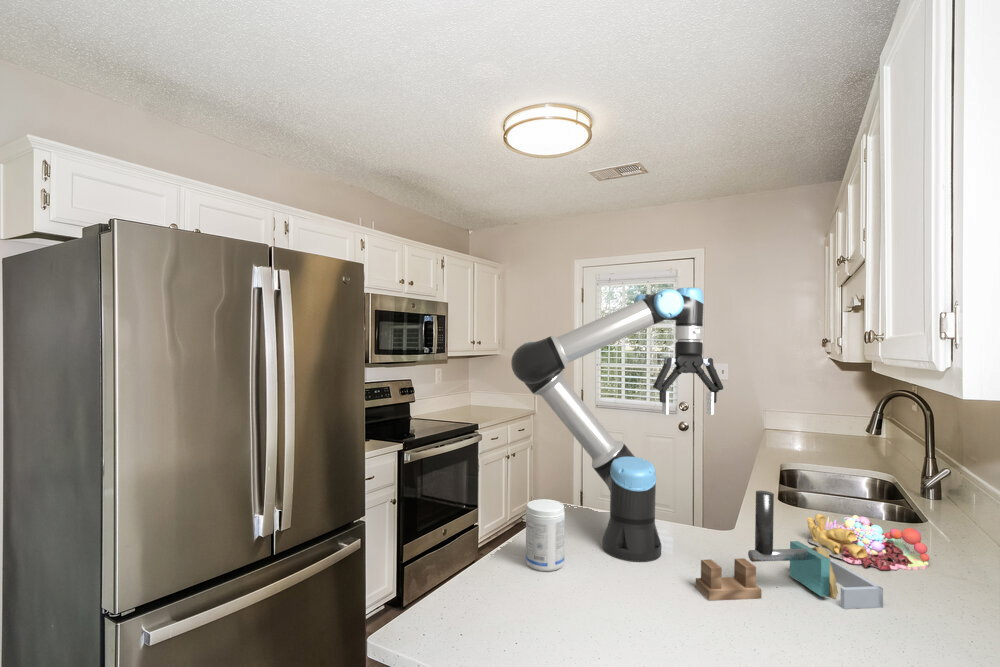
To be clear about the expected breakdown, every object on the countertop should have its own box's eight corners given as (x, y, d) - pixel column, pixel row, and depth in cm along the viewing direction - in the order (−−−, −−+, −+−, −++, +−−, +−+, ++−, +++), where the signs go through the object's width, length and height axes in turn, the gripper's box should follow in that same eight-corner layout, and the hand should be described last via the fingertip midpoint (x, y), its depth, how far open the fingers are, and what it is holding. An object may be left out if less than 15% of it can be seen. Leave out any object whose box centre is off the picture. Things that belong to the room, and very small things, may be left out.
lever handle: (764, 598, 110) (766, 500, 110) (738, 576, 120) (739, 486, 120) (829, 596, 111) (830, 499, 112) (797, 575, 121) (798, 486, 122)
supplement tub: (553, 554, 133) (554, 497, 133) (571, 569, 124) (572, 508, 124) (519, 558, 129) (520, 500, 130) (534, 575, 120) (535, 512, 121)
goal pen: (844, 609, 108) (844, 589, 108) (789, 572, 125) (789, 555, 125) (882, 607, 109) (883, 588, 109) (823, 571, 126) (823, 555, 126)
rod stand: (709, 600, 110) (709, 570, 110) (695, 587, 116) (695, 558, 116) (761, 598, 112) (761, 568, 112) (745, 585, 118) (745, 556, 118)
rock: (812, 562, 126) (788, 564, 121) (836, 542, 122) (812, 543, 117) (846, 604, 118) (821, 608, 114) (872, 584, 114) (848, 587, 110)
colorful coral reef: (865, 576, 124) (865, 538, 124) (790, 539, 147) (790, 507, 147) (945, 568, 130) (946, 531, 130) (861, 534, 153) (861, 502, 153)
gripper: (652, 340, 144) (651, 415, 144) (736, 341, 147) (735, 416, 146) (642, 340, 152) (641, 412, 151) (722, 341, 154) (721, 412, 154)
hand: (687, 414), depth 149 cm, fingers open, 13 cm apart
